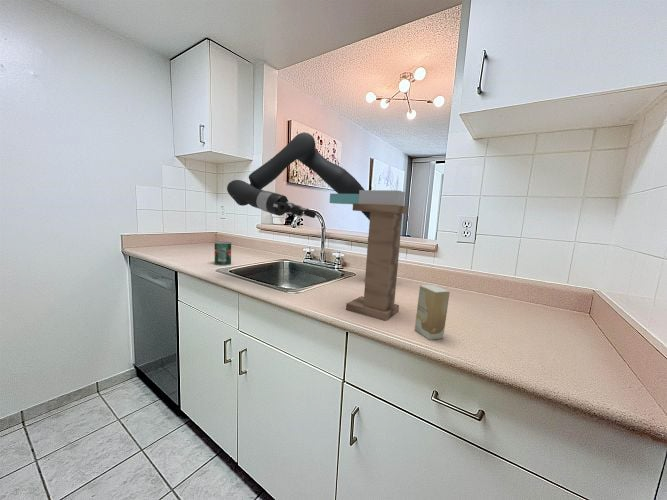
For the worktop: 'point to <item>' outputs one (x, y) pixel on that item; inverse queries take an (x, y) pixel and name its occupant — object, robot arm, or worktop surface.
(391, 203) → the tool
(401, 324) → the worktop surface
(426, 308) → the skincare box
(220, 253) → the canned tomato
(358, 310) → the tall wooden column
